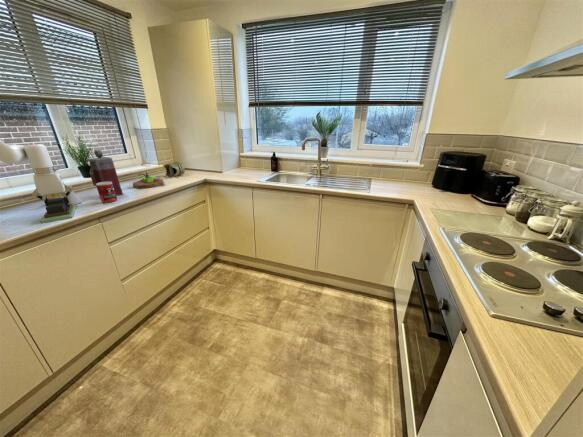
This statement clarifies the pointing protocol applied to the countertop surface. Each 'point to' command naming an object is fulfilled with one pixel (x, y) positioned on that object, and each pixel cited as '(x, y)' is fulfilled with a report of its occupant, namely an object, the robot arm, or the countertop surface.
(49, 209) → the black square block
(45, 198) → the robot arm
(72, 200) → the flask
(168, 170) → the piston
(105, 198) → the canned food
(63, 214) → the joiner board
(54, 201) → the black pad
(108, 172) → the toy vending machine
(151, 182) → the plant
